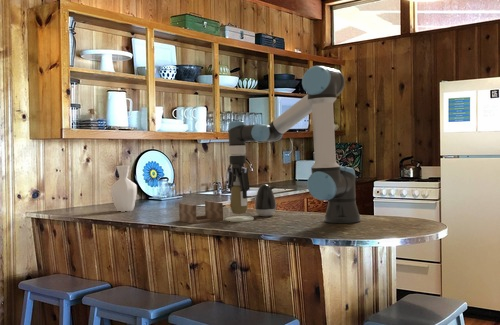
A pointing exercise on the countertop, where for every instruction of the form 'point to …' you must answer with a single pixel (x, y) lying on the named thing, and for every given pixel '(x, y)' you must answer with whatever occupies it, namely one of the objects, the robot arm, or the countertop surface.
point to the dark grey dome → (265, 201)
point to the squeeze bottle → (237, 198)
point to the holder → (211, 211)
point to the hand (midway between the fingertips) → (239, 205)
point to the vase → (124, 191)
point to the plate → (239, 219)
